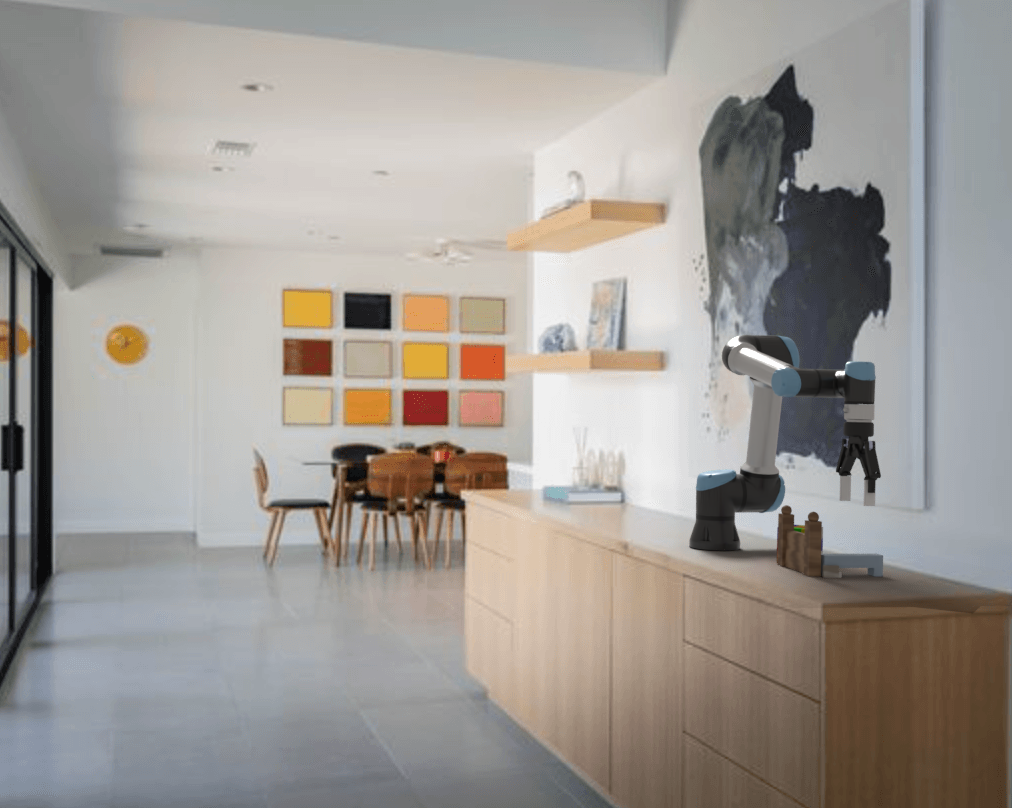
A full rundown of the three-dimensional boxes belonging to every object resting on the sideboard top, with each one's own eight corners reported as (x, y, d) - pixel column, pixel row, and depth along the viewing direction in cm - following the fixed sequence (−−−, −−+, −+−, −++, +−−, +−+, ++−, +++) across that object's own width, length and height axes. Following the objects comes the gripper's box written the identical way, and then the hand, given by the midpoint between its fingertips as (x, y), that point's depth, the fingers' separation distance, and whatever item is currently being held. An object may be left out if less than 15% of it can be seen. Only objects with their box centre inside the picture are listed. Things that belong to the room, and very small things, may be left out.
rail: (818, 574, 302) (818, 553, 302) (876, 574, 304) (876, 553, 304) (824, 576, 298) (824, 555, 298) (882, 576, 301) (883, 555, 301)
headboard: (777, 564, 318) (778, 504, 318) (804, 564, 319) (805, 504, 319) (812, 577, 296) (813, 513, 296) (841, 577, 297) (843, 513, 297)
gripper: (824, 419, 313) (822, 498, 313) (868, 422, 289) (865, 508, 289) (850, 420, 314) (848, 498, 315) (896, 422, 290) (894, 508, 290)
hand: (856, 503), depth 302 cm, fingers open, 13 cm apart
